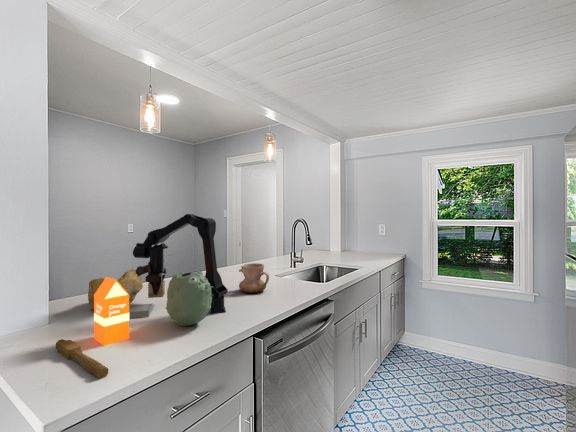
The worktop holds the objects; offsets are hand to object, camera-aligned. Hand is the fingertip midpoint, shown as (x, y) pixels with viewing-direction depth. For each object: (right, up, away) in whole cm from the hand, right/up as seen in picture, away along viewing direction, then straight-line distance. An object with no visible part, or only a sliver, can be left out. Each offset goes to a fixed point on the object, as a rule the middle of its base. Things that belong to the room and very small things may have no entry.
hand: (156, 293), depth 137 cm
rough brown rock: (-21, -6, +2) cm, 22 cm away
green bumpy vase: (+22, -6, -23) cm, 32 cm away
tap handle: (0, -6, -52) cm, 52 cm away
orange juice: (+1, -6, -36) cm, 37 cm away
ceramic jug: (+41, -6, +26) cm, 49 cm away
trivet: (-3, -6, -11) cm, 13 cm away
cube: (0, -1, 0) cm, 1 cm away
